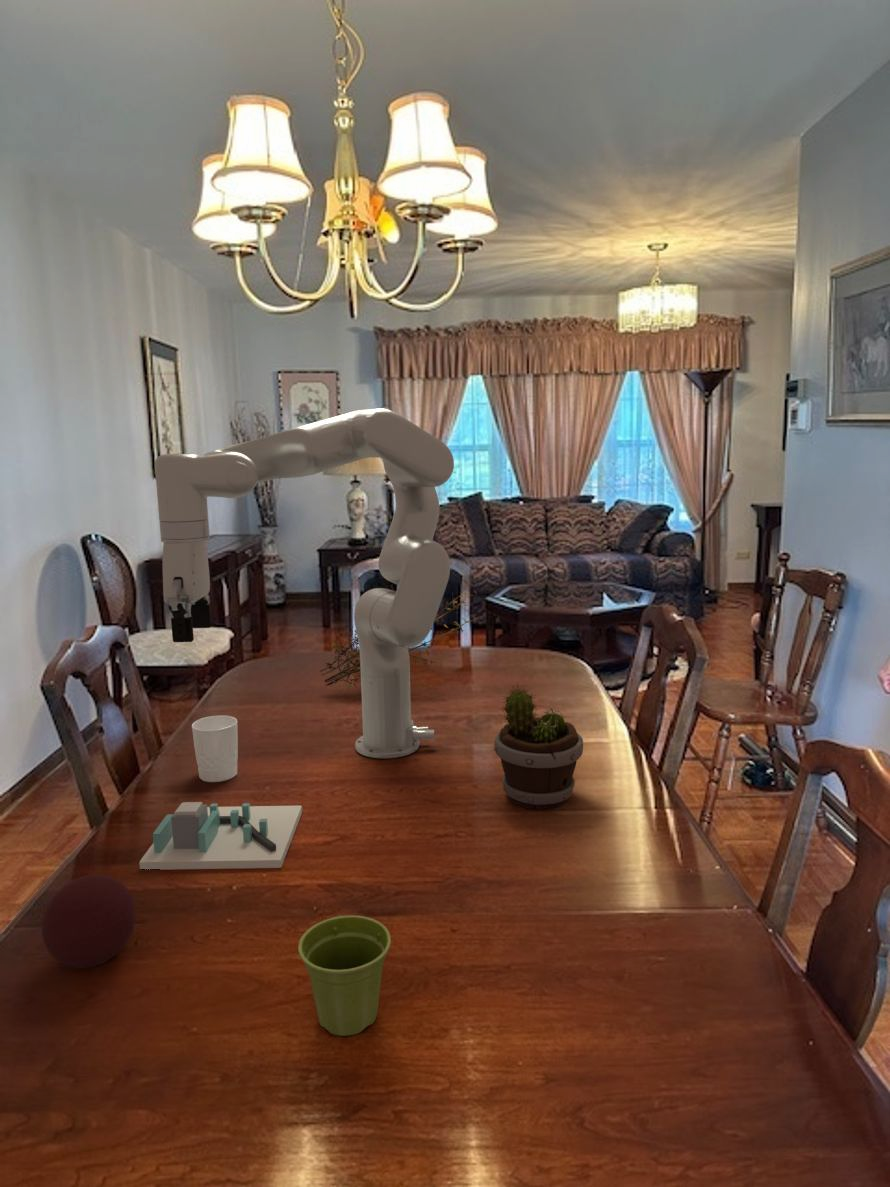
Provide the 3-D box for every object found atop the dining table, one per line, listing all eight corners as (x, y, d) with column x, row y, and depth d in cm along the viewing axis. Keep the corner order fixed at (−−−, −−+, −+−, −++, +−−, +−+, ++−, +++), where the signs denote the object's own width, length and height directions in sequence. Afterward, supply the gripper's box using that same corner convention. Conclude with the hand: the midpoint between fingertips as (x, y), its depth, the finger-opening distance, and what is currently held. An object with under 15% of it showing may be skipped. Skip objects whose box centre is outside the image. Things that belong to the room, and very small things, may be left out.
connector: (209, 835, 119) (206, 800, 117) (201, 848, 115) (198, 812, 114) (183, 835, 119) (180, 800, 118) (173, 848, 115) (170, 813, 114)
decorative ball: (147, 966, 91) (140, 887, 89) (51, 999, 85) (41, 916, 84) (130, 923, 99) (123, 850, 97) (42, 951, 94) (32, 874, 92)
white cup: (228, 785, 139) (224, 731, 137) (187, 782, 140) (183, 729, 138) (248, 767, 146) (244, 716, 144) (209, 764, 148) (205, 714, 146)
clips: (275, 816, 124) (274, 802, 124) (264, 842, 116) (263, 827, 116) (212, 817, 124) (211, 803, 124) (196, 843, 116) (195, 828, 116)
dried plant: (290, 638, 170) (476, 547, 172) (303, 619, 201) (460, 542, 203) (353, 760, 174) (534, 670, 176) (356, 723, 205) (510, 646, 207)
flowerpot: (592, 785, 136) (594, 674, 132) (567, 824, 123) (569, 702, 119) (513, 772, 142) (513, 665, 138) (481, 808, 129) (480, 690, 125)
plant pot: (306, 988, 87) (302, 917, 85) (392, 982, 87) (390, 911, 86) (298, 1053, 77) (293, 974, 76) (394, 1045, 78) (391, 967, 76)
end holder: (218, 832, 119) (216, 813, 119) (206, 852, 114) (204, 833, 113) (168, 832, 119) (167, 814, 119) (154, 853, 114) (152, 833, 113)
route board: (302, 812, 128) (301, 805, 128) (281, 867, 111) (280, 859, 111) (179, 814, 128) (178, 807, 128) (140, 870, 111) (139, 862, 111)
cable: (296, 835, 118) (296, 830, 118) (272, 852, 113) (272, 846, 113) (217, 814, 125) (217, 809, 125) (192, 829, 120) (191, 824, 120)
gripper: (179, 526, 135) (187, 623, 139) (141, 538, 118) (151, 648, 122) (222, 525, 135) (229, 622, 139) (191, 537, 118) (199, 647, 122)
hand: (193, 634), depth 130 cm, fingers open, 9 cm apart
